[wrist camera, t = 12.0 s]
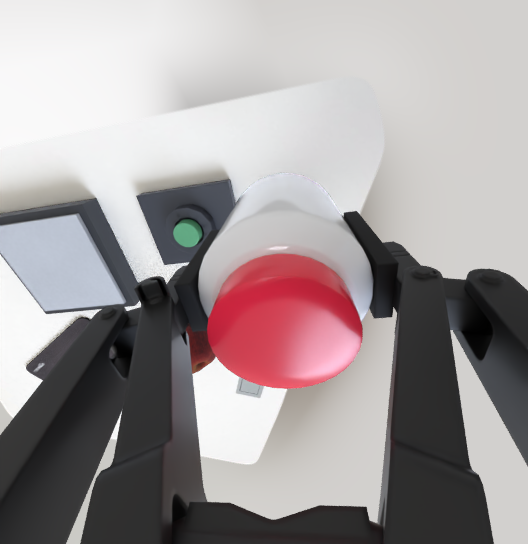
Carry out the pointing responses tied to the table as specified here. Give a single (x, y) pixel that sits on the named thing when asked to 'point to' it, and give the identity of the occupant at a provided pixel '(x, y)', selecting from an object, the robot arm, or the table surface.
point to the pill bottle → (285, 285)
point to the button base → (185, 215)
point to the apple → (199, 349)
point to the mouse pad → (57, 350)
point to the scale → (67, 257)
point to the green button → (187, 233)
